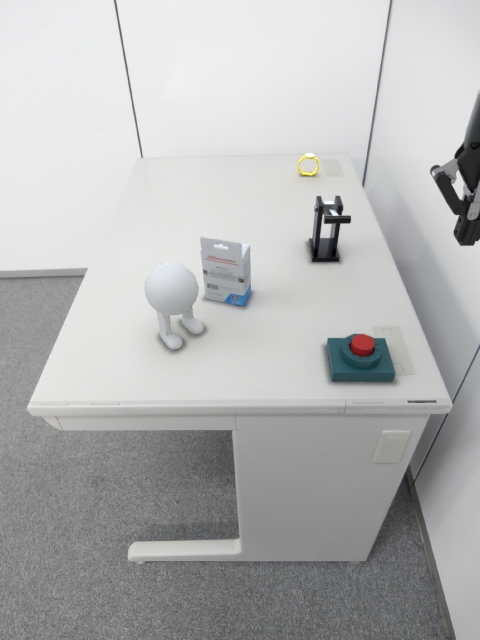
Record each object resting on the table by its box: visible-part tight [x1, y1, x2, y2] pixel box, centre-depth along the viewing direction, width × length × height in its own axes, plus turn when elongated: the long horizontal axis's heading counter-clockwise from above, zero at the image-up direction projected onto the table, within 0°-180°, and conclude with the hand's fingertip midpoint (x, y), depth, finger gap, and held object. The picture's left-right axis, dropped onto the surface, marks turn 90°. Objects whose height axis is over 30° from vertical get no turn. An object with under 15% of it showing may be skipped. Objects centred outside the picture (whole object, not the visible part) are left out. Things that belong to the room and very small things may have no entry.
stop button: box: [351, 333, 374, 357], centre depth 73 cm, size 4×4×2 cm
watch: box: [297, 152, 320, 177], centre depth 128 cm, size 6×3×6 cm, turn 81°
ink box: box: [199, 235, 252, 307], centre depth 85 cm, size 8×5×15 cm, turn 71°
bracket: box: [307, 195, 344, 263], centre depth 96 cm, size 8×6×13 cm
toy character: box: [144, 261, 205, 351], centre depth 77 cm, size 9×9×15 cm
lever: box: [322, 200, 352, 225], centre depth 89 cm, size 12×5×2 cm, turn 179°
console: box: [325, 333, 396, 383], centre depth 74 cm, size 10×8×4 cm
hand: (464, 242), depth 54 cm, fingers closed
